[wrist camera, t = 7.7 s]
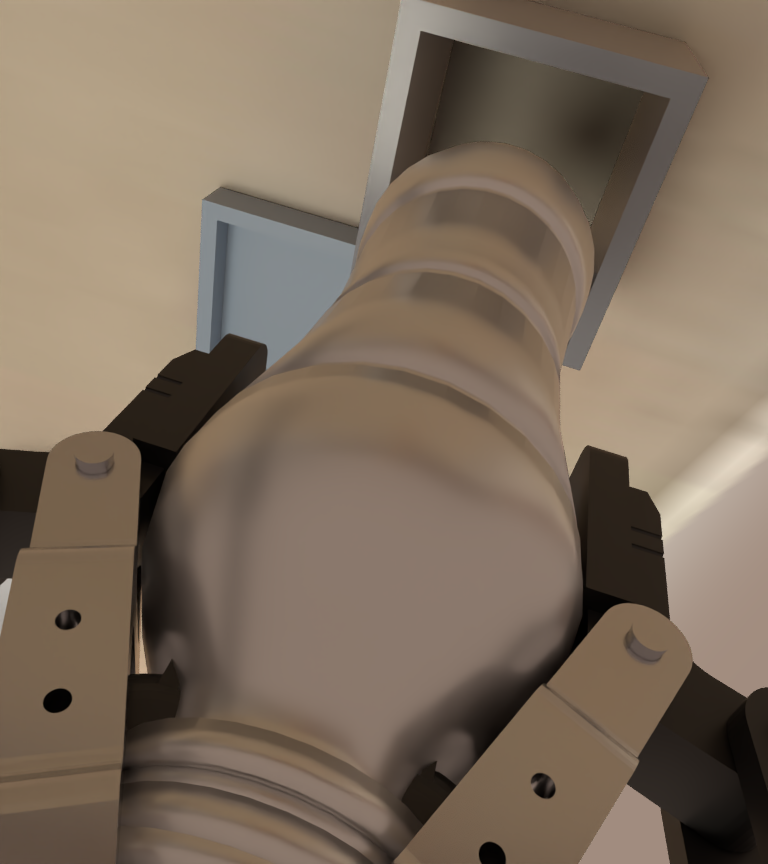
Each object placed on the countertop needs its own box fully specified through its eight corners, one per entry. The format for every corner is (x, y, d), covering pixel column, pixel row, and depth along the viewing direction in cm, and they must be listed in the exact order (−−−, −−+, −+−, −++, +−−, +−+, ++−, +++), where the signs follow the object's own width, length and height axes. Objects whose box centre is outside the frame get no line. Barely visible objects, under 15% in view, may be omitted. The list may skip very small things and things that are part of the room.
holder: (447, -22, 28) (401, -6, 22) (685, 42, 28) (708, 77, 21) (393, 230, 35) (345, 298, 29) (585, 287, 34) (580, 370, 28)
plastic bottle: (357, 287, 24) (-105, 984, 8) (428, 82, 20) (-229, 697, 4) (533, 363, 24) (400, 1199, 8) (640, 173, 20) (774, 1126, 4)
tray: (220, 187, 36) (202, 199, 34) (442, 253, 35) (434, 269, 33) (208, 390, 43) (193, 408, 42) (390, 449, 43) (381, 469, 41)
